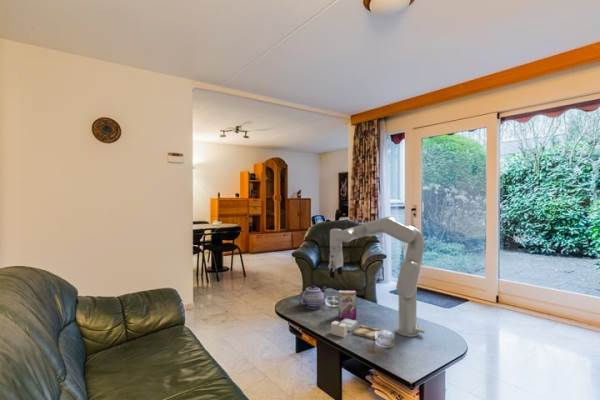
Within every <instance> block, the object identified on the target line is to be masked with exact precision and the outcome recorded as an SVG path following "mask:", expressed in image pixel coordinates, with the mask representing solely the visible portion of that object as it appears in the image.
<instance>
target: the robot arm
mask: <svg viewBox="0 0 600 400" xmlns="http://www.w3.org/2000/svg"><path fill="white" fill-rule="evenodd" d="M382 234H385V235H387V236H390V237H392V238H394V239H395V240H397V241H400V242H401V243H405V244H407V248H406V252H405V256H404V260H403V262H402V263H401V266H400V268H399V274H398V276H397V277H398V278H397V282H396V287H395V289H396V293H397V295H398V325H397V326H396V327H395V331H396V333H397V334H399V335H401V336H403V337H410V338H412V337H417V336H420V333H421V334H425V333H426V332H425V331H426V330H425V329H424V328H423V327H420V326H419V324H418V323H417V321H418V320H417V297H418V296H417V295H418V293H417V291H418V290H417V289H418V279H419V274H420V272H421V264H422V259H423V254H424V250H425V249H424V248H425V240H424V237H423V234H422V233H421V231H420V230H419V229H418V228H416V227H415V226H413V225H411V224H409V225H404V224H402V223H400V222H398V221H397V220H396V219H395V217H393V216H385V217H382V218H378V219H376V220H375V219H374V220H371V221H367V222H365V223H362V224H360V225H356V226H353V227H349V228H346V229H341V228H331V229H330V231H329V251H330V253H329V263H328V265H327V266H328V271H329V278H330V279H335V277H336V276H335V275H336V274H337V275H343V266H344V255H343V243H350V242H351V241H353V240H357V239H360V238H361V239H362V238H364V237H374V236H375V237H376V236H378V235H382ZM335 269H337V273H335V272H336V271H335Z"/></svg>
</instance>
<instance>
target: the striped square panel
mask: <svg viewBox="0 0 600 400" xmlns="http://www.w3.org/2000/svg"><path fill="white" fill-rule="evenodd" d="M340 322H341V323H345V324H347V332H348V331H349V332H353V331H354V330H355V329H356V328H357V327H358V326H359V324H358V321H357V320H356V319H348V318H343V319H342V320H341V321H340Z"/></svg>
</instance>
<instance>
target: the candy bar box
mask: <svg viewBox="0 0 600 400" xmlns="http://www.w3.org/2000/svg"><path fill="white" fill-rule="evenodd" d="M338 318H339V319H345V318H347V319H351V320H357V291H356V290H338Z"/></svg>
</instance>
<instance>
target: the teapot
mask: <svg viewBox="0 0 600 400" xmlns="http://www.w3.org/2000/svg"><path fill="white" fill-rule="evenodd" d="M326 290H327V286H323V287H322V289H321V288H320V287H318V286H316V285H315V284H311V286H308V287H306V288H305V290H304V291H301V292H300V293H299V295H298V299H297V300H298V303H299V305H301V306H304V307H306V308H307V309H311V310H317V309H320V308H321V306H323V304H324V302H325V301H324V300H325V295H326ZM301 297H302V298H301ZM301 300H302V301H301Z"/></svg>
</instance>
